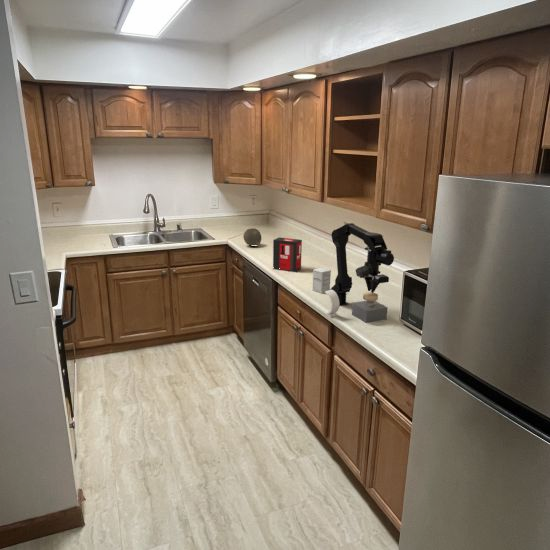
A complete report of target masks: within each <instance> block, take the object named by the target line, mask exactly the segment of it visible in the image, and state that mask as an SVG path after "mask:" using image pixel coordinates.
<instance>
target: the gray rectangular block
mask: <svg viewBox="0 0 550 550" xmlns="http://www.w3.org/2000/svg"><path fill="white" fill-rule="evenodd" d="M366 303H367V300H363V301H362V300H361V301H356V302H355V301H354V302H352V306H351V315H352V316H354V317H355V318H357V319H358V320H360V321H362V322H363V323H365V324H369V323H374V322H380V321H386V320H388V319H387V317H388V306H386V305H385V304H383V303H380V302H378V301H377V300H376V301H374V304H373V306H367V305H366Z"/></svg>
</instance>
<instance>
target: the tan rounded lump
mask: <svg viewBox="0 0 550 550" xmlns="http://www.w3.org/2000/svg"><path fill="white" fill-rule="evenodd" d="M362 299H363V301H367V303H366V305H367V306H373V304H374V301H376V302H377V301H378V300H379V294H378V293H375V292H374V293H371V291H367V292H363V295H362Z"/></svg>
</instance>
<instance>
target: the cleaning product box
mask: <svg viewBox="0 0 550 550" xmlns="http://www.w3.org/2000/svg"><path fill="white" fill-rule="evenodd" d="M272 240H273V242H272V245H273V246H272V247H273V248H272V251H273V252H272V253H273V254H272V255H273V256H272V270H277V271H284V272H291V273H297V272H299V271H300V270H301V269H302V251H303V250H302V249H303V248H302V245H303V243H302V242H303V241H302V239H297V238H289V237H288V238H287V237H280V236H279V237H277V238H274V239H272ZM273 267H274V268H273ZM279 268H280V269H279Z"/></svg>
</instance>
